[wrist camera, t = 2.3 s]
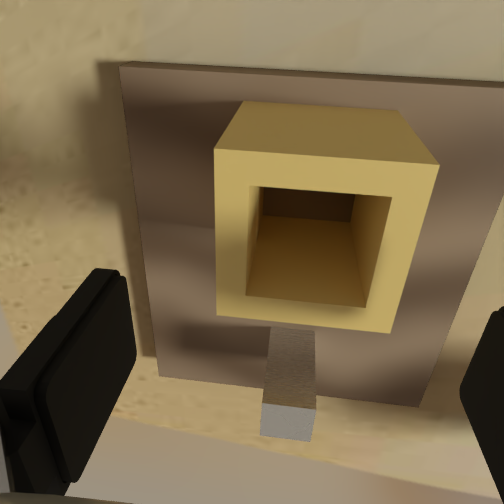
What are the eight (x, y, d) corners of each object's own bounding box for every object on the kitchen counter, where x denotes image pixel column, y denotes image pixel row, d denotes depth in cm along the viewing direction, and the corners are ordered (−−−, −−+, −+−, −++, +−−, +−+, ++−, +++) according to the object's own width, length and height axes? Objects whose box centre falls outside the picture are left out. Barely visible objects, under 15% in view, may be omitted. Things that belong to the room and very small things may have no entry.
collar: (243, 100, 16) (213, 148, 11) (397, 110, 16) (439, 164, 11) (240, 232, 19) (216, 315, 14) (368, 243, 19) (390, 333, 14)
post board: (132, 61, 17) (50, 91, 12) (526, 83, 16) (639, 128, 10) (166, 358, 27) (129, 450, 21) (412, 387, 26) (441, 492, 20)
